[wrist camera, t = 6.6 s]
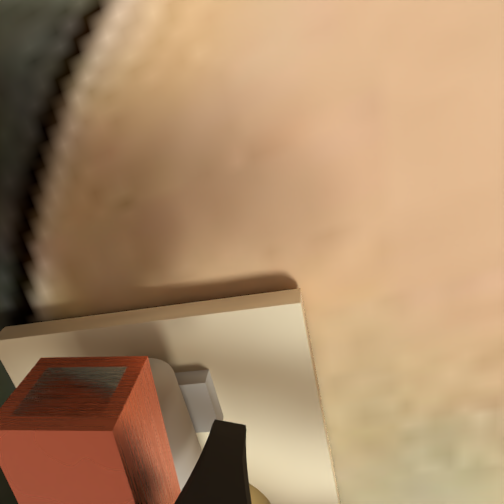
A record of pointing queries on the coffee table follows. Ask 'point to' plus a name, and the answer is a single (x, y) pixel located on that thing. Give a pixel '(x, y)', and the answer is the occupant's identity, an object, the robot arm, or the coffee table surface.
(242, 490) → the robot arm
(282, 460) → the valve fixture
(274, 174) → the coffee table surface
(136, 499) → the valve lever
